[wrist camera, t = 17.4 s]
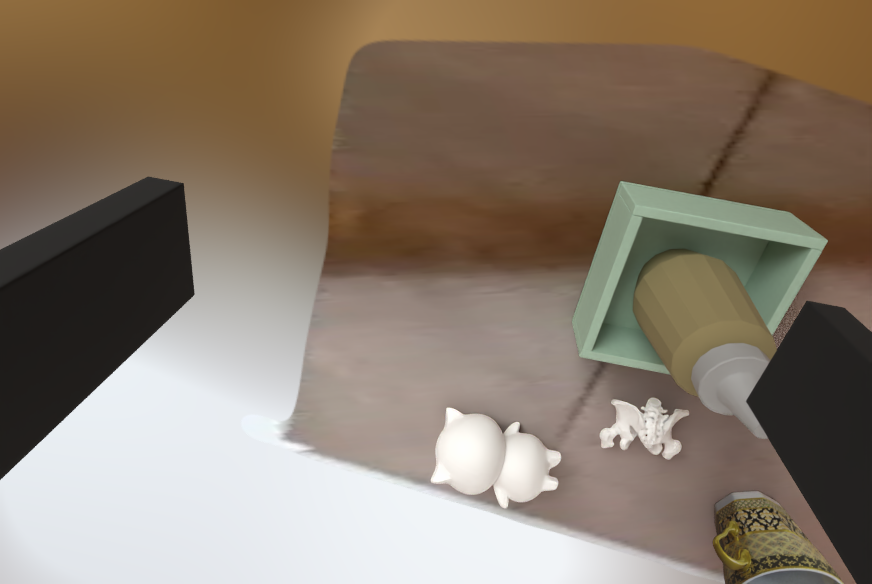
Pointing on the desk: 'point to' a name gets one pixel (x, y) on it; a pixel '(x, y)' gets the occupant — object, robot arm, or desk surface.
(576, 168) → the desk surface
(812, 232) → the bin
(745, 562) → the ceramic cup
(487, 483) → the cat figurine
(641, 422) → the anatomical pelvis
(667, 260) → the squeeze bottle
